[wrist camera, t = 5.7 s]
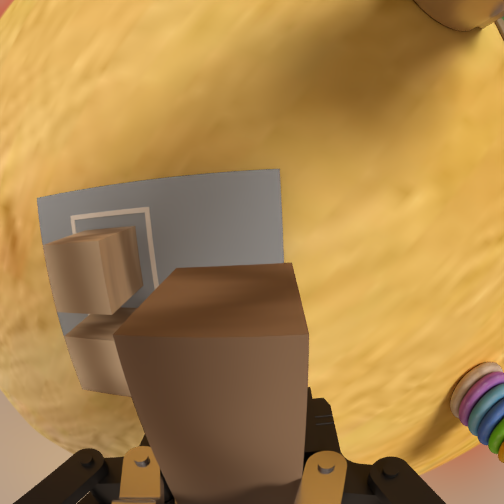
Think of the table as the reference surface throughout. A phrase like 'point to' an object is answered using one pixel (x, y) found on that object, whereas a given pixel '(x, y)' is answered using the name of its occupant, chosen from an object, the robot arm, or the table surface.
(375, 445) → the table surface
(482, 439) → the stacking toy
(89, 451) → the robot arm
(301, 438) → the lintel
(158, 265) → the board
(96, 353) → the pillar
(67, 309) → the tan wooden cube
